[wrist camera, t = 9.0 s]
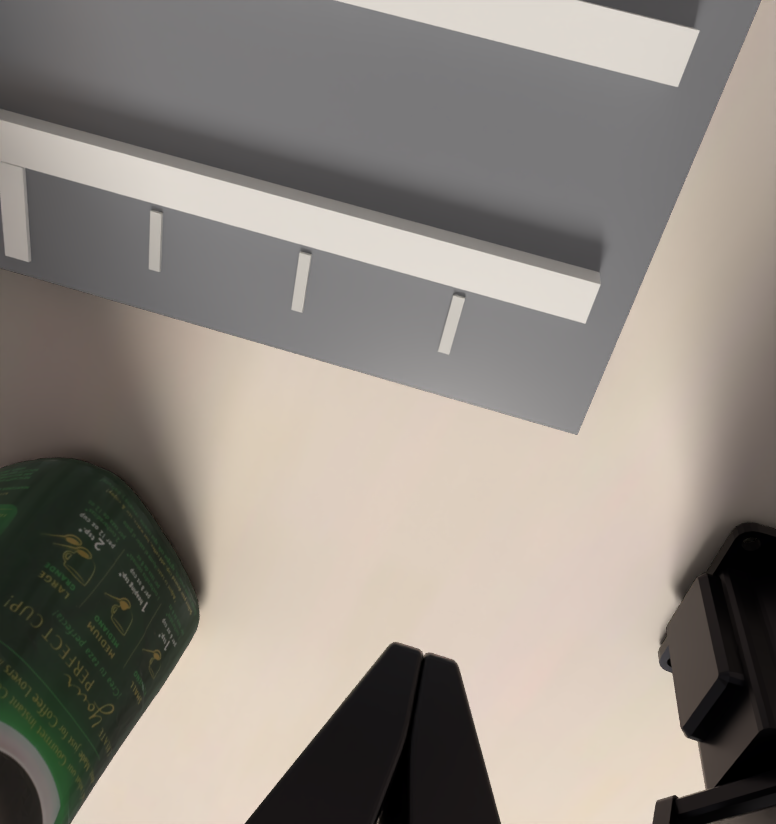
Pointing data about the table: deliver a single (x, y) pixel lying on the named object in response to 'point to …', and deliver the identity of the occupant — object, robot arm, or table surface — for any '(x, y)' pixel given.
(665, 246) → the table surface
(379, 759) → the robot arm
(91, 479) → the coffee jar
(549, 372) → the console
